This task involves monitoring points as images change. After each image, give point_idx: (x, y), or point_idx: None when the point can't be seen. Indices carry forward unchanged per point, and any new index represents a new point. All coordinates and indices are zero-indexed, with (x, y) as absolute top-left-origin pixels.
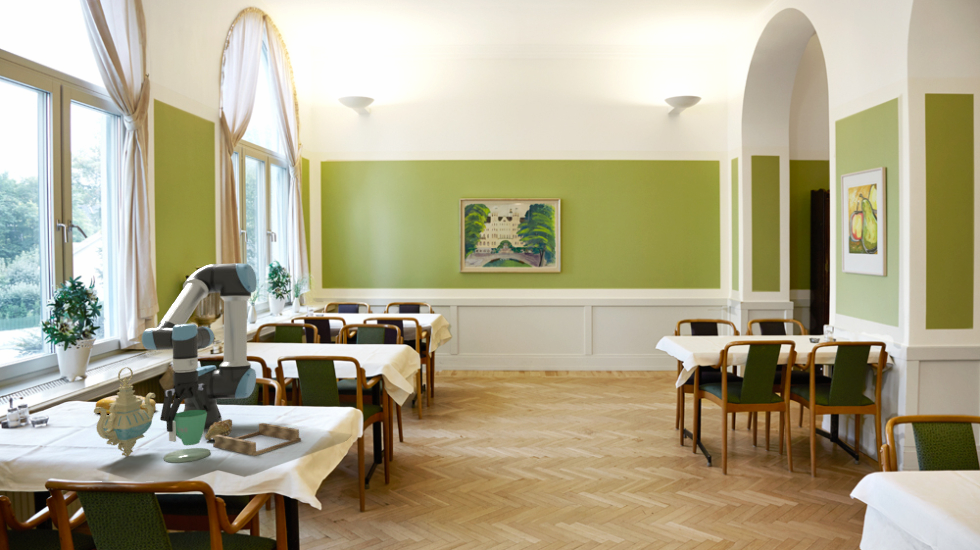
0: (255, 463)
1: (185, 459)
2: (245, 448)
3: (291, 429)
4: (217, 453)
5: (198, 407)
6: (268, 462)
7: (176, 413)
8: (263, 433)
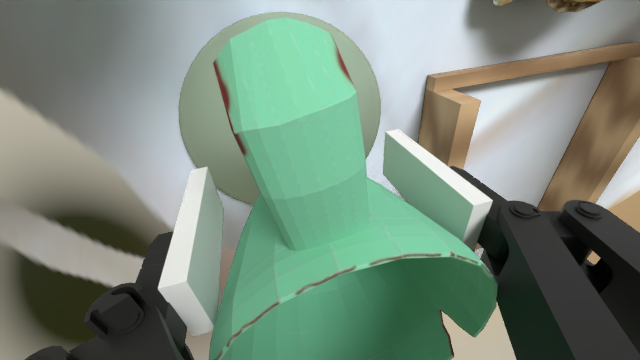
0: None
1: (252, 193)
2: None
3: None
4: (372, 178)
5: (515, 314)
6: None
7: (314, 200)
8: (606, 86)
